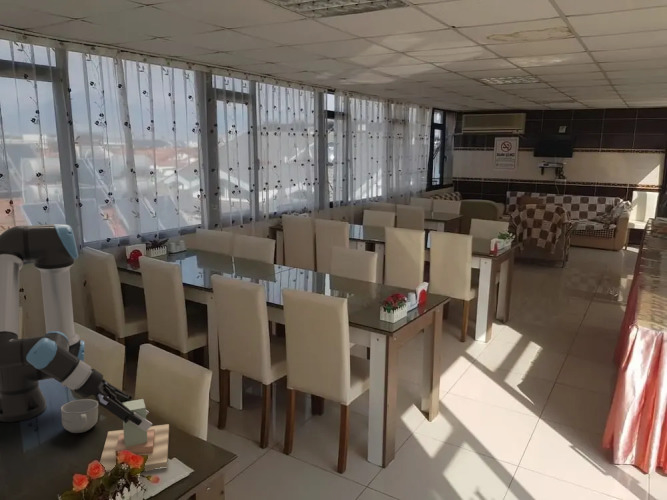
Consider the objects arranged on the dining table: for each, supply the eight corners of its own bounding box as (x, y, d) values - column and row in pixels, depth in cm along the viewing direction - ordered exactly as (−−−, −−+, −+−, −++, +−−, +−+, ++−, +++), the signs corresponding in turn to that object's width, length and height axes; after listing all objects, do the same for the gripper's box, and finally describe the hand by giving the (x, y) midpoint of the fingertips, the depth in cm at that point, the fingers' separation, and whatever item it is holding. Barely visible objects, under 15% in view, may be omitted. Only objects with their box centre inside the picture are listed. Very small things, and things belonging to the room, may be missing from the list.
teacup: (64, 423, 169) (62, 400, 167) (100, 417, 173) (98, 395, 172) (60, 444, 156) (58, 420, 155) (99, 437, 160) (97, 413, 159)
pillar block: (123, 437, 153) (121, 402, 151) (145, 432, 156) (143, 398, 154) (125, 447, 148) (123, 411, 146) (147, 442, 150) (145, 407, 148)
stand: (108, 437, 160) (107, 425, 160) (169, 429, 165) (168, 418, 165) (97, 478, 140) (96, 465, 139) (167, 468, 144) (166, 455, 144)
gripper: (73, 376, 151) (134, 416, 161) (72, 405, 133) (142, 448, 143) (91, 356, 152) (151, 397, 162) (93, 382, 134) (161, 426, 144)
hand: (147, 421), depth 152 cm, fingers open, 7 cm apart
